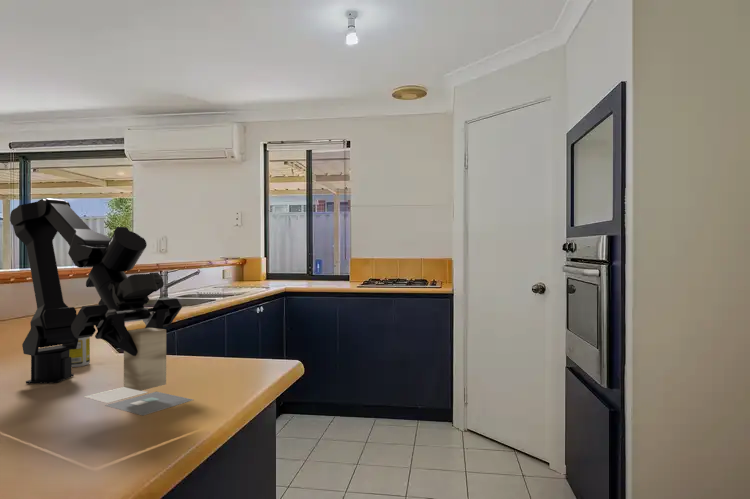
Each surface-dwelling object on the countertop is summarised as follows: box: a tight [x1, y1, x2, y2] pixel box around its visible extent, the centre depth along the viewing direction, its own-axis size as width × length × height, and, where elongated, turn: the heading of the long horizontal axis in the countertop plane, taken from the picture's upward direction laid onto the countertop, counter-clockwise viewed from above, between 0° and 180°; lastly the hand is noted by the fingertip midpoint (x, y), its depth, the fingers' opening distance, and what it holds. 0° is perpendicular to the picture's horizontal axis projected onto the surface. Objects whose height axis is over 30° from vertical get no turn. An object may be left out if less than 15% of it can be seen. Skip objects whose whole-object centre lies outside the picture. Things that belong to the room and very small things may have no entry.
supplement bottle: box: [69, 337, 91, 368], centre depth 118 cm, size 5×5×10 cm
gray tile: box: [104, 391, 194, 416], centre depth 85 cm, size 11×10×1 cm
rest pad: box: [83, 386, 149, 404], centre depth 91 cm, size 8×8×1 cm
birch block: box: [123, 327, 167, 391], centre depth 86 cm, size 5×5×10 cm
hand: (149, 351), depth 86 cm, fingers closed on birch block, 5 cm apart
